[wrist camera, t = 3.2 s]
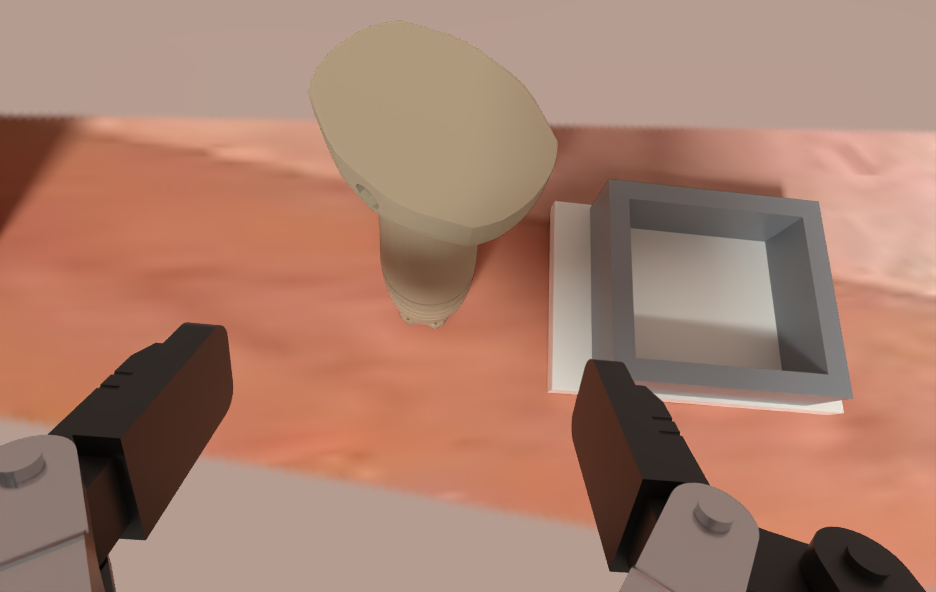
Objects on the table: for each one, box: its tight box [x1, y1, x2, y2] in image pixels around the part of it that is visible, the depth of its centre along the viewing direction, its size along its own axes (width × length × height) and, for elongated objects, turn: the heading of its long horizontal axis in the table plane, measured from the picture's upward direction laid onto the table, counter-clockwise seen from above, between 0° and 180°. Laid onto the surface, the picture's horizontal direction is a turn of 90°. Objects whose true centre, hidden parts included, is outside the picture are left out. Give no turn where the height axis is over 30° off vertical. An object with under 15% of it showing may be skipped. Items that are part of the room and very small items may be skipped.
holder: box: [547, 179, 853, 415], centre depth 26 cm, size 15×10×4 cm
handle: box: [308, 20, 558, 329], centre depth 20 cm, size 5×6×15 cm
